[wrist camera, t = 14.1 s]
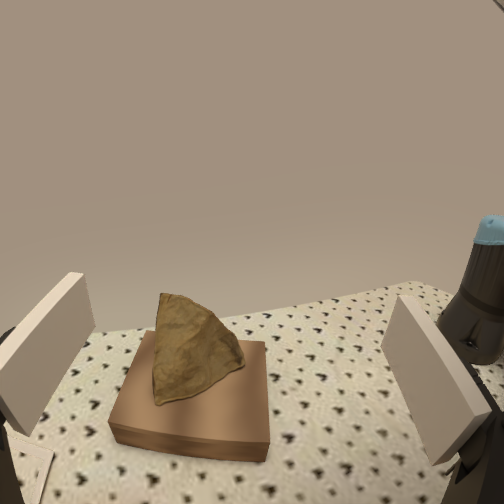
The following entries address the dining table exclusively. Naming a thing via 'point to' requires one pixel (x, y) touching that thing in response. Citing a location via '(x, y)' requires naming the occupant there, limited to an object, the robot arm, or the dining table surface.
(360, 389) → the dining table surface
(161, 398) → the rock
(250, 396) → the plinth
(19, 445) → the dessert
